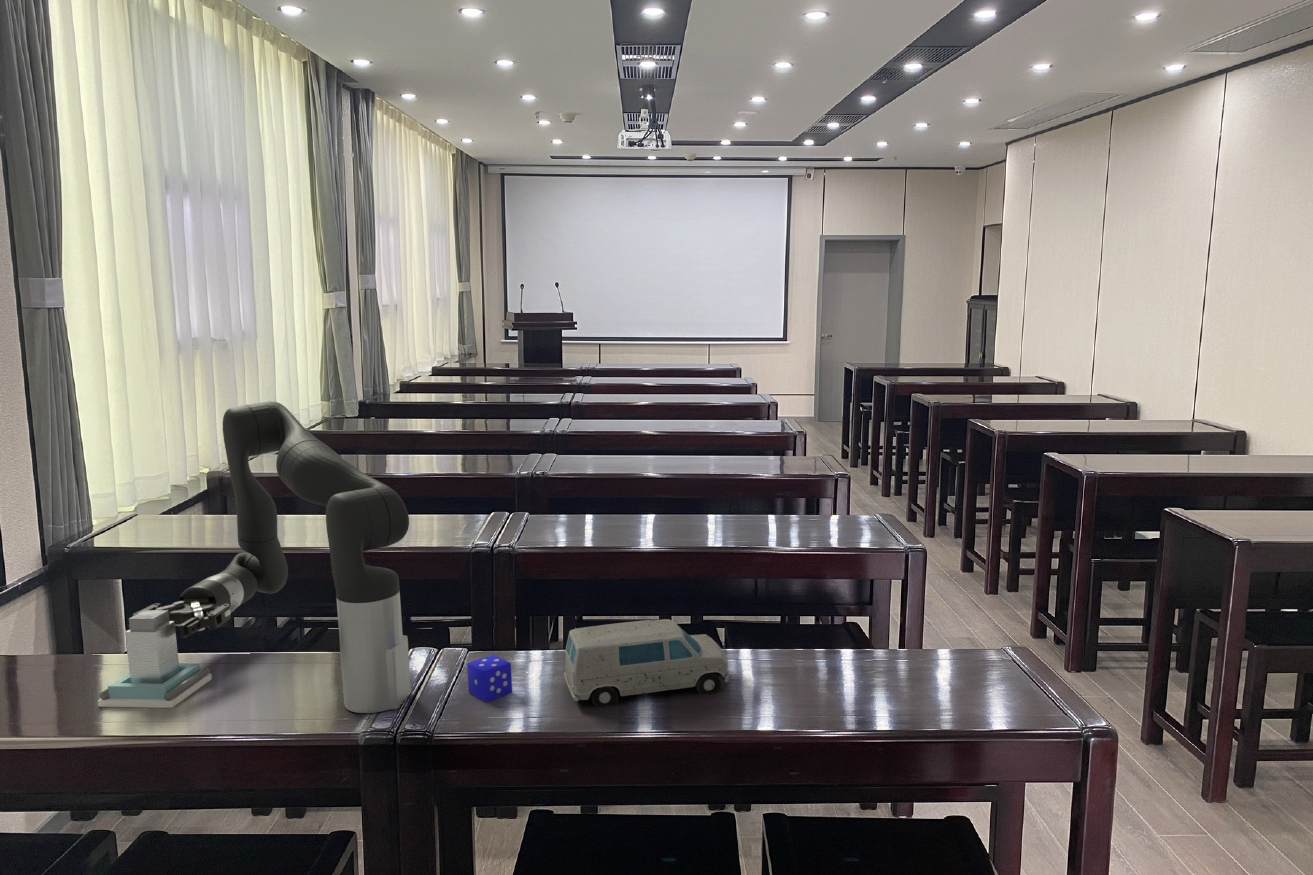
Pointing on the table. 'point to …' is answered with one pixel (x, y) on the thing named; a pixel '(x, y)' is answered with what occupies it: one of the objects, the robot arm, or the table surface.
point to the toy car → (640, 661)
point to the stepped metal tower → (152, 647)
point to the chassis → (155, 689)
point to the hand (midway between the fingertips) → (156, 631)
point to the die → (489, 677)
